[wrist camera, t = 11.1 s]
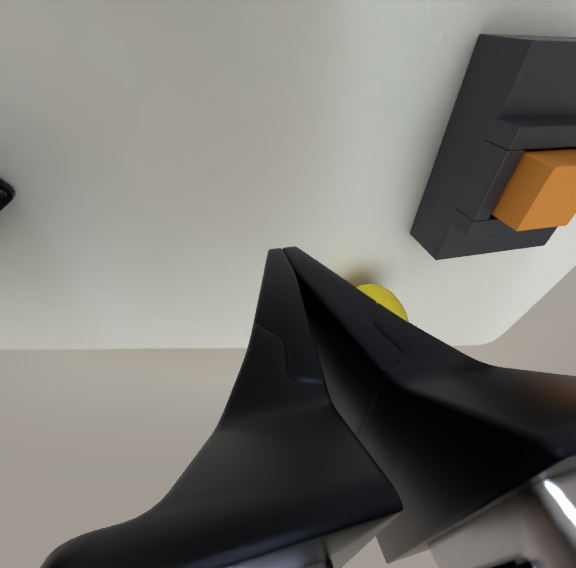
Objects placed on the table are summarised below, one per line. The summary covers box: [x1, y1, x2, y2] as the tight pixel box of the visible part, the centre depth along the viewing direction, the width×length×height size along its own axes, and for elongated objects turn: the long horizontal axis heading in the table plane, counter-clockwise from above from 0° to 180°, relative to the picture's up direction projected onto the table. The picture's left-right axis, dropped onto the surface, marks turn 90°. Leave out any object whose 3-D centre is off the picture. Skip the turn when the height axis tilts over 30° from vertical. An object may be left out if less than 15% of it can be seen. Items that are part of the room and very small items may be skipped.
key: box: [491, 149, 576, 231], centre depth 19 cm, size 4×4×2 cm
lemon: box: [356, 284, 408, 322], centre depth 28 cm, size 6×6×8 cm
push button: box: [410, 34, 576, 260], centre depth 22 cm, size 11×14×6 cm
